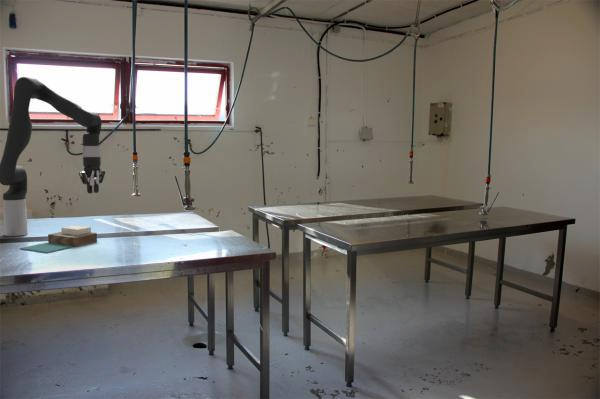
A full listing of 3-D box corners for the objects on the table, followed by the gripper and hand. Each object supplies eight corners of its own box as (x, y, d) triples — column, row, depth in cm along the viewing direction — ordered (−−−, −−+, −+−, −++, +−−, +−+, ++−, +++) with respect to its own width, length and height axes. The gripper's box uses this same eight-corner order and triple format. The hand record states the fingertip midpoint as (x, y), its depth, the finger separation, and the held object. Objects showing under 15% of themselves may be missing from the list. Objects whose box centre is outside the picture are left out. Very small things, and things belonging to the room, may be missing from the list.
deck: (48, 243, 203) (47, 234, 203) (71, 238, 214) (71, 230, 213) (74, 246, 197) (74, 237, 196) (97, 241, 208) (96, 233, 207)
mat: (20, 249, 191) (20, 248, 191) (46, 243, 202) (46, 242, 202) (47, 253, 185) (47, 252, 185) (72, 247, 196) (72, 246, 196)
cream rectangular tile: (61, 233, 205) (61, 227, 205) (74, 230, 212) (74, 225, 212) (77, 235, 202) (77, 229, 201) (90, 232, 208) (90, 227, 208)
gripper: (97, 155, 221) (99, 191, 223) (73, 155, 208) (74, 193, 210) (109, 155, 218) (110, 192, 220) (85, 156, 205) (86, 194, 207)
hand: (93, 192), depth 215 cm, fingers open, 3 cm apart
